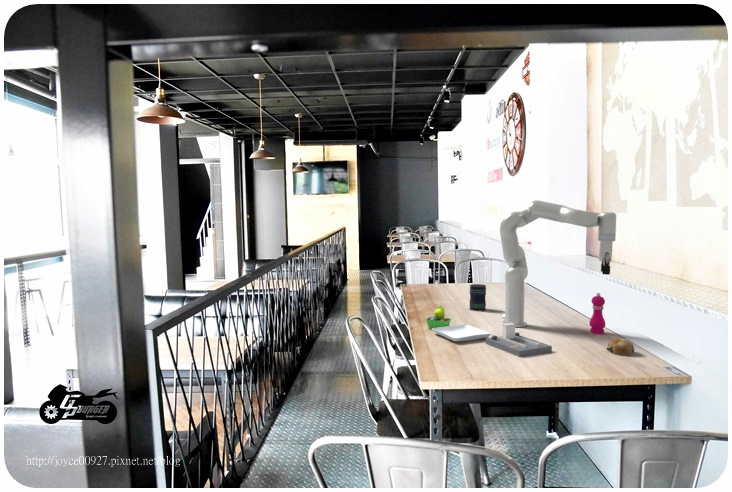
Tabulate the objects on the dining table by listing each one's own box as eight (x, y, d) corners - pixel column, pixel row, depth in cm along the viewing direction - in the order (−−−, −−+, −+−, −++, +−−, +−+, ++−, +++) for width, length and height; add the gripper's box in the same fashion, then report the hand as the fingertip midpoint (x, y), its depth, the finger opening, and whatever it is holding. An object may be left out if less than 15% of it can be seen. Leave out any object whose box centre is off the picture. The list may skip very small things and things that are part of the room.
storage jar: (487, 311, 291) (487, 286, 290) (471, 311, 291) (471, 286, 290) (483, 307, 301) (484, 284, 300) (467, 307, 301) (468, 284, 300)
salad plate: (430, 334, 238) (430, 327, 238) (466, 330, 246) (466, 323, 246) (454, 345, 219) (454, 337, 218) (492, 340, 227) (492, 333, 227)
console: (485, 343, 220) (485, 335, 220) (516, 339, 227) (516, 331, 227) (519, 356, 200) (519, 347, 200) (551, 351, 207) (551, 342, 207)
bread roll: (628, 365, 200) (638, 349, 198) (603, 351, 205) (613, 335, 203) (629, 358, 209) (639, 343, 206) (606, 345, 213) (615, 330, 211)
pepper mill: (607, 334, 235) (608, 294, 234) (591, 334, 236) (592, 293, 235) (602, 331, 242) (604, 291, 241) (587, 330, 244) (588, 291, 242)
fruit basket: (425, 329, 247) (425, 307, 246) (431, 325, 255) (431, 304, 254) (446, 331, 242) (446, 309, 241) (452, 327, 250) (452, 306, 249)
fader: (501, 338, 219) (502, 324, 219) (511, 337, 221) (511, 322, 221) (505, 339, 217) (506, 325, 216) (515, 338, 219) (515, 324, 218)
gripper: (596, 236, 242) (595, 270, 243) (599, 238, 226) (598, 274, 227) (613, 237, 239) (612, 271, 240) (617, 239, 223) (615, 275, 224)
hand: (605, 273), depth 234 cm, fingers open, 9 cm apart
